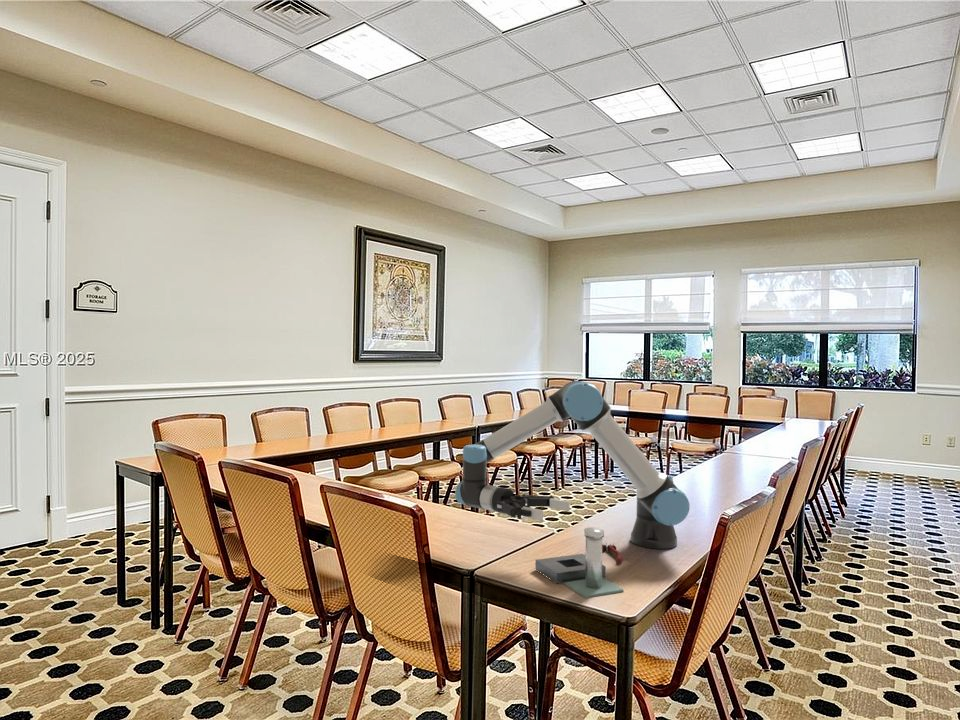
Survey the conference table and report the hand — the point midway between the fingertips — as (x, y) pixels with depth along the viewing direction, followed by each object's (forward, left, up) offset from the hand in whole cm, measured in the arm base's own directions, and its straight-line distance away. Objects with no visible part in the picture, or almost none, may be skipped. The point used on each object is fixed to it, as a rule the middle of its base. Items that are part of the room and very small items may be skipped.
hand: (556, 510), depth 176 cm
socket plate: (-5, +1, -18) cm, 19 cm away
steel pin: (-4, +13, -18) cm, 22 cm away
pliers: (-26, -9, -19) cm, 33 cm away
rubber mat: (-5, +13, -18) cm, 23 cm away
